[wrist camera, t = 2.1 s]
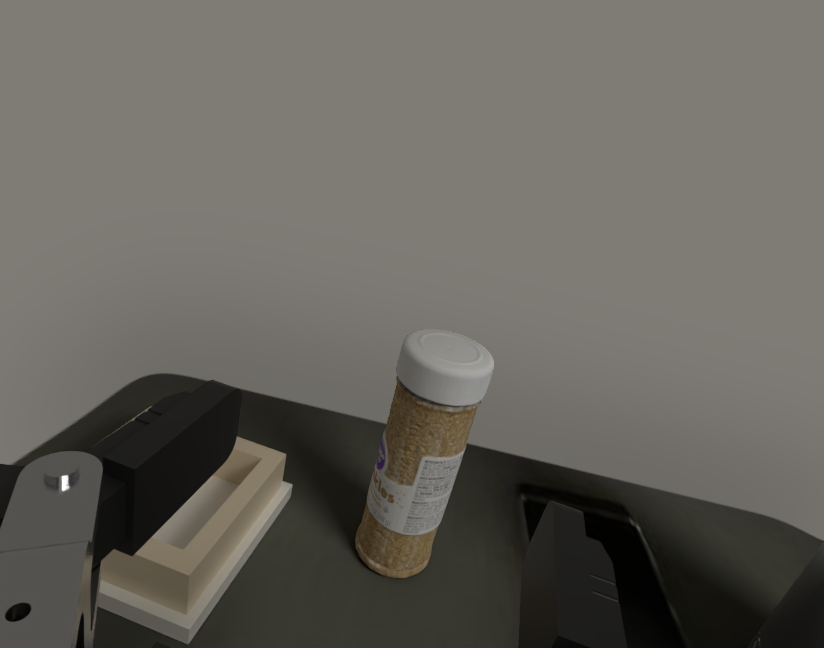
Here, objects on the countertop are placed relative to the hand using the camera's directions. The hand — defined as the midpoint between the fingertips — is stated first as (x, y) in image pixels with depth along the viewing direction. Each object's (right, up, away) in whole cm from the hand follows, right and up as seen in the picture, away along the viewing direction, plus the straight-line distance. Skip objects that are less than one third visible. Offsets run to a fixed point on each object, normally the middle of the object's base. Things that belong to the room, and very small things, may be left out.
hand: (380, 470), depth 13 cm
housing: (-13, -7, +15) cm, 21 cm away
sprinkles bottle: (0, -10, +17) cm, 20 cm away
